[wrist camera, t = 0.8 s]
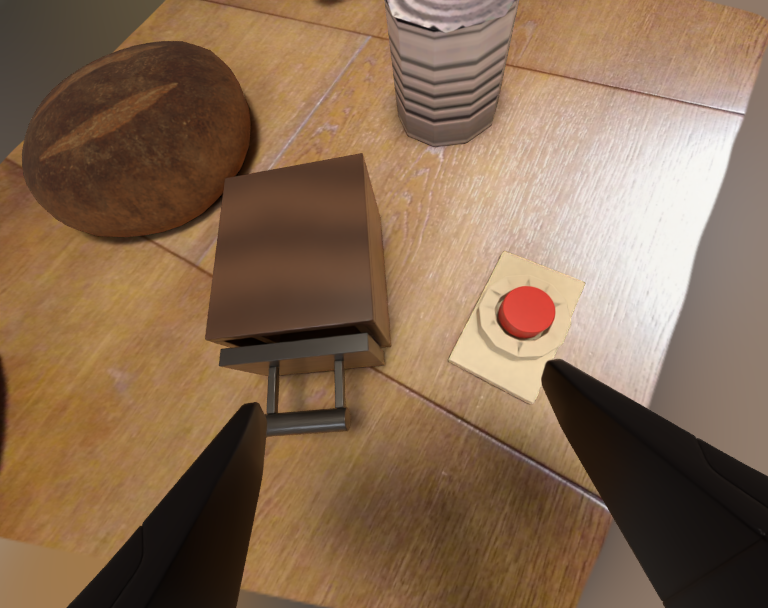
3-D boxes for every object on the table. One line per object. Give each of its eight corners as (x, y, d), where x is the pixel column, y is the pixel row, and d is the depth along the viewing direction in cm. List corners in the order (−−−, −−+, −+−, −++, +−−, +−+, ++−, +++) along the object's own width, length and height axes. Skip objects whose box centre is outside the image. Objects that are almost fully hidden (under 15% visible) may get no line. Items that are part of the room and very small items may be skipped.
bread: (52, 143, 45) (-34, 83, 36) (214, 49, 46) (166, -29, 38) (88, 291, 34) (-18, 255, 26) (294, 165, 36) (253, 93, 28)
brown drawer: (389, 425, 24) (373, 430, 18) (266, 434, 26) (210, 442, 19) (375, 237, 30) (359, 190, 24) (275, 252, 31) (234, 211, 25)
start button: (536, 346, 23) (544, 341, 21) (490, 325, 24) (494, 318, 22) (554, 305, 24) (563, 298, 22) (509, 286, 25) (514, 278, 23)
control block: (529, 404, 24) (542, 403, 21) (447, 361, 26) (449, 355, 23) (579, 287, 26) (597, 273, 24) (501, 256, 28) (508, 239, 26)
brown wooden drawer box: (391, 346, 27) (373, 320, 19) (268, 359, 29) (204, 339, 21) (380, 217, 32) (362, 152, 24) (275, 234, 33) (224, 177, 25)
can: (473, 61, 37) (491, -91, 26) (517, 124, 33) (560, -23, 22) (385, 95, 37) (364, -40, 26) (416, 161, 33) (408, 36, 22)
